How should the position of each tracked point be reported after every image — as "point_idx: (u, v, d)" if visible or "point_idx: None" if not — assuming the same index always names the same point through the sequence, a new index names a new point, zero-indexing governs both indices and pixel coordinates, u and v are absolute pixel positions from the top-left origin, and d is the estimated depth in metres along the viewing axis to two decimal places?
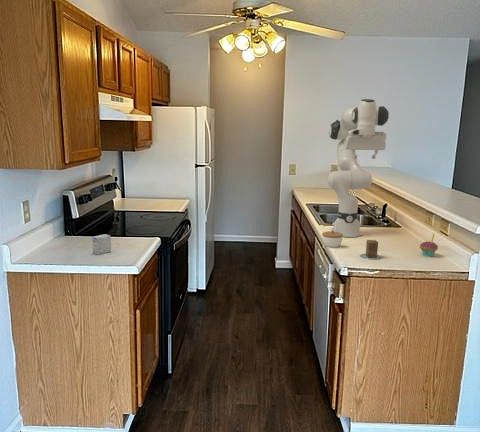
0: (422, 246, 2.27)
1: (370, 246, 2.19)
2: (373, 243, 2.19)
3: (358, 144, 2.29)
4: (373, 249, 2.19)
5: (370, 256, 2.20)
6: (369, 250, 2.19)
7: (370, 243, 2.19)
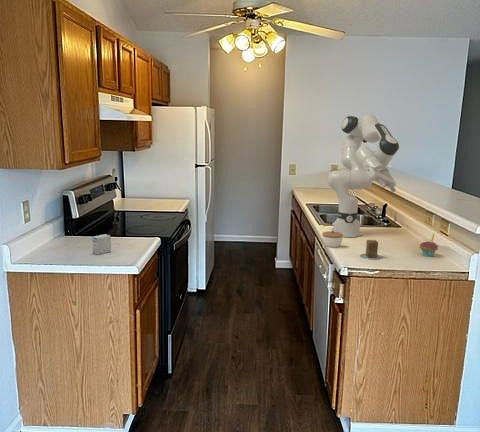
0: (422, 246, 2.27)
1: (370, 246, 2.19)
2: (373, 243, 2.19)
3: None
4: (373, 249, 2.19)
5: (370, 256, 2.20)
6: (369, 250, 2.19)
7: (370, 243, 2.19)
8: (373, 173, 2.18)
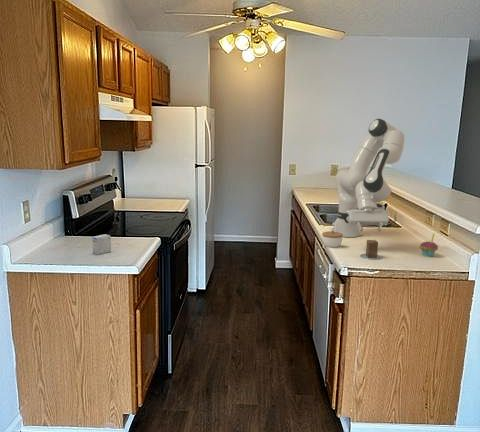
0: (422, 246, 2.27)
1: (370, 246, 2.19)
2: (373, 243, 2.19)
3: None
4: (373, 249, 2.19)
5: (370, 256, 2.20)
6: (369, 250, 2.19)
7: (370, 243, 2.19)
8: (349, 219, 2.31)
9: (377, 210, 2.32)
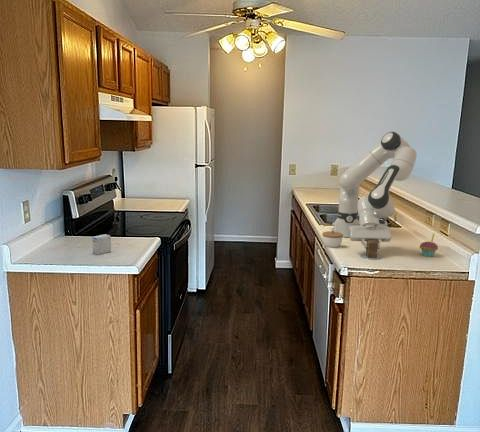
0: (422, 246, 2.27)
1: (370, 246, 2.19)
2: (373, 243, 2.19)
3: None
4: (373, 249, 2.19)
5: (370, 256, 2.20)
6: (369, 250, 2.19)
7: (370, 243, 2.19)
8: (350, 235, 2.24)
9: (379, 226, 2.25)
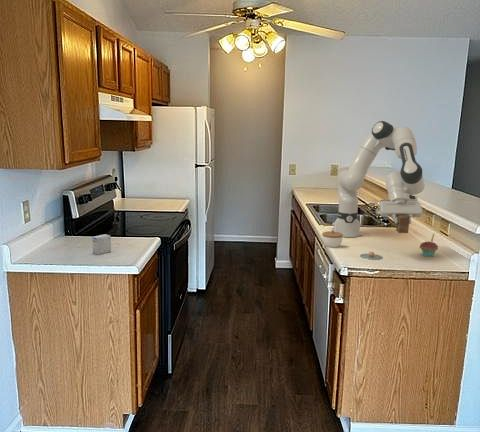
0: (422, 246, 2.27)
1: (401, 221, 2.16)
2: (404, 218, 2.16)
3: None
4: (404, 224, 2.16)
5: (401, 231, 2.17)
6: (400, 225, 2.17)
7: (401, 218, 2.16)
8: (381, 211, 2.21)
9: (410, 202, 2.22)
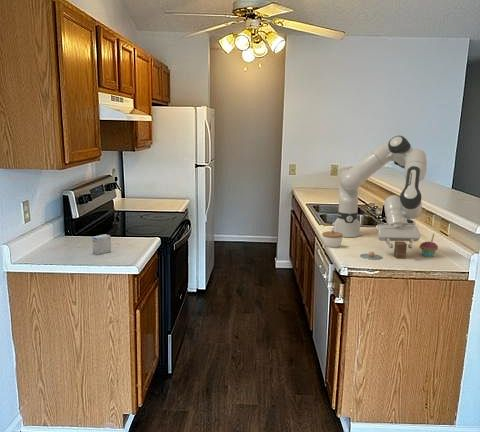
0: (422, 246, 2.27)
1: (399, 248, 2.19)
2: (402, 245, 2.18)
3: None
4: (402, 251, 2.19)
5: (399, 258, 2.20)
6: (398, 252, 2.19)
7: (399, 245, 2.18)
8: (379, 235, 2.23)
9: (408, 226, 2.24)
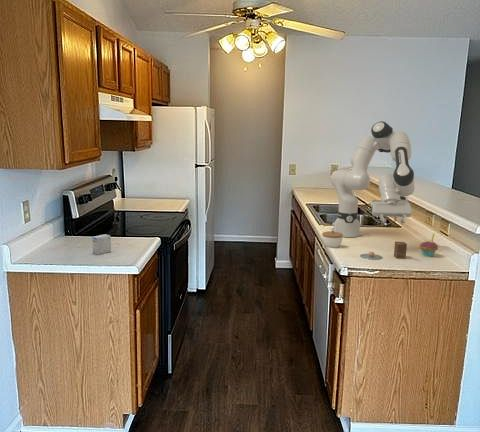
0: (422, 246, 2.27)
1: (399, 248, 2.19)
2: (402, 245, 2.18)
3: None
4: (402, 251, 2.19)
5: (399, 258, 2.20)
6: (398, 252, 2.19)
7: (399, 245, 2.18)
8: (373, 211, 2.34)
9: (400, 202, 2.35)
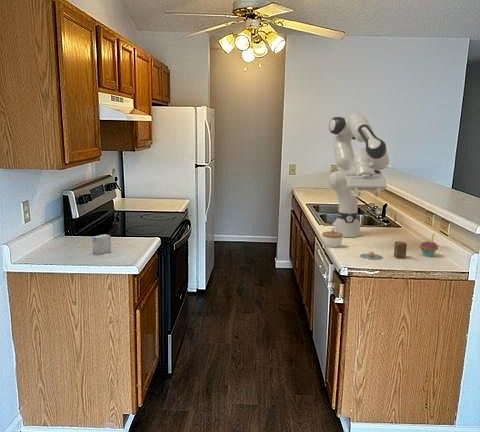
0: (422, 246, 2.27)
1: (399, 248, 2.19)
2: (402, 245, 2.18)
3: None
4: (402, 251, 2.19)
5: (399, 258, 2.20)
6: (398, 252, 2.19)
7: (399, 245, 2.18)
8: (347, 184, 2.34)
9: (375, 176, 2.35)
